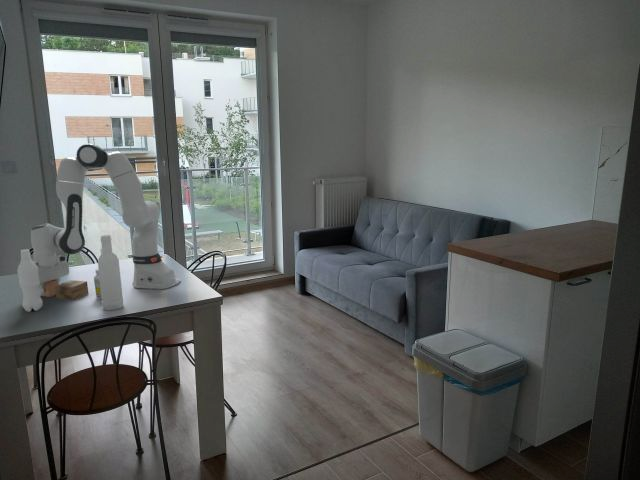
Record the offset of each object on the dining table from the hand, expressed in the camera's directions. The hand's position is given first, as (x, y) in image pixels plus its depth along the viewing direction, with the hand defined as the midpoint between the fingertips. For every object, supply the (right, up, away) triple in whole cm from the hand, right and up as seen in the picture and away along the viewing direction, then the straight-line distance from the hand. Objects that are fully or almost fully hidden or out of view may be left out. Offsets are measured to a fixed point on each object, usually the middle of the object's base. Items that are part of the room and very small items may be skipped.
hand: (49, 290), depth 214 cm
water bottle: (+4, -6, -19) cm, 20 cm away
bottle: (+36, -5, -17) cm, 40 cm away
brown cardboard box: (0, -2, 0) cm, 2 cm away
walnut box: (+12, -3, -3) cm, 12 cm away
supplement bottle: (+27, -3, -5) cm, 27 cm away
